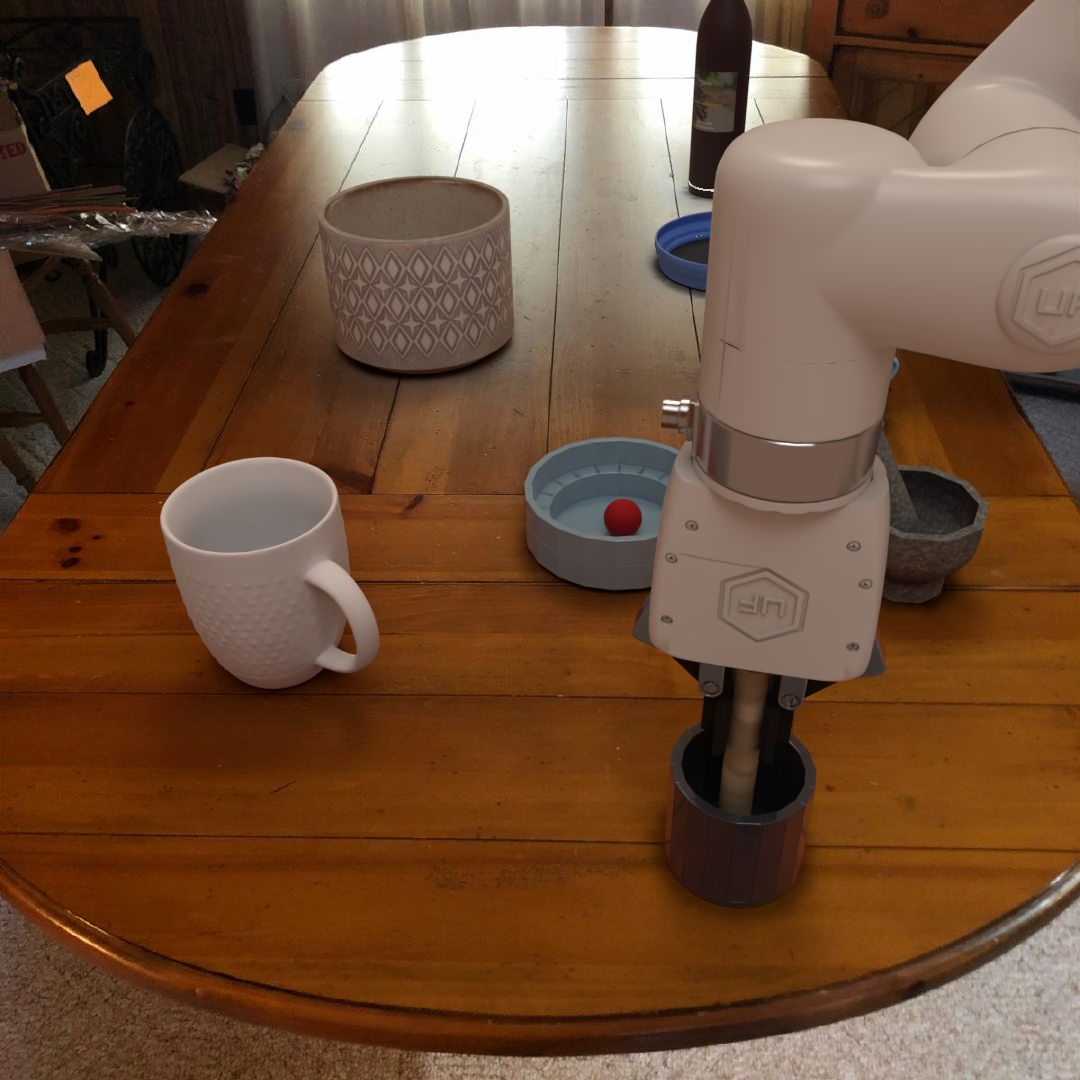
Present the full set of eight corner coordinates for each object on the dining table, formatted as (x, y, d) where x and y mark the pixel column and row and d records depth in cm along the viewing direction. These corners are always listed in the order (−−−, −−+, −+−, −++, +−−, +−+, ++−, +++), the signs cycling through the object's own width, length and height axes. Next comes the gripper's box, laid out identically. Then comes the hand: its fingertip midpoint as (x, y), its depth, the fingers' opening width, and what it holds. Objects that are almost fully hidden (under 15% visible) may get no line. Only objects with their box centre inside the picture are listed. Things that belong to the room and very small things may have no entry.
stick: (746, 835, 62) (773, 651, 54) (744, 860, 61) (772, 675, 53) (714, 829, 63) (737, 646, 54) (712, 855, 61) (734, 670, 53)
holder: (804, 809, 64) (819, 726, 60) (796, 921, 58) (812, 837, 54) (675, 787, 66) (681, 704, 62) (655, 893, 60) (660, 809, 56)
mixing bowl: (717, 499, 91) (721, 447, 88) (694, 607, 80) (698, 552, 77) (550, 479, 94) (549, 428, 91) (505, 581, 82) (503, 527, 80)
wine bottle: (678, 186, 152) (690, -58, 134) (721, 178, 154) (739, -63, 137) (705, 202, 147) (722, -50, 129) (749, 193, 149) (772, -55, 131)
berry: (637, 506, 87) (633, 486, 85) (649, 536, 86) (644, 517, 83) (601, 518, 87) (596, 498, 85) (612, 549, 86) (607, 529, 83)
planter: (374, 400, 105) (355, 257, 97) (313, 327, 119) (292, 195, 110) (545, 356, 112) (542, 217, 103) (470, 291, 125) (461, 164, 117)
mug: (437, 664, 75) (421, 508, 68) (324, 764, 68) (291, 603, 60) (285, 587, 82) (254, 438, 75) (168, 671, 75) (120, 516, 68)
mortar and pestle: (992, 575, 82) (1031, 437, 75) (931, 637, 76) (966, 494, 69) (858, 517, 88) (882, 384, 81) (793, 570, 83) (813, 433, 76)
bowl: (800, 238, 136) (804, 210, 134) (815, 299, 121) (819, 268, 119) (654, 236, 137) (655, 208, 135) (652, 296, 123) (653, 266, 121)
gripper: (581, 460, 45) (579, 768, 56) (990, 509, 41) (902, 825, 52) (616, 375, 51) (608, 668, 61) (976, 412, 47) (900, 714, 58)
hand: (744, 738), depth 57 cm, fingers closed on stick, 1 cm apart
